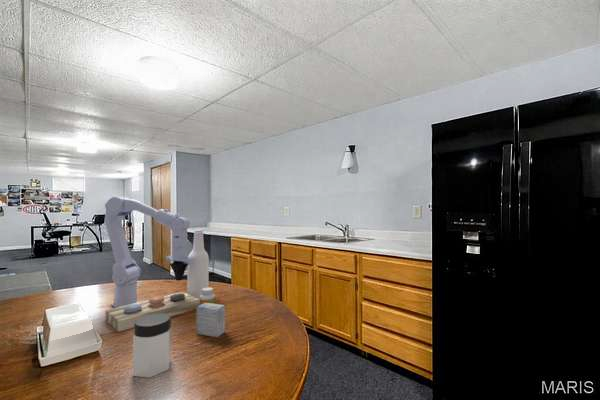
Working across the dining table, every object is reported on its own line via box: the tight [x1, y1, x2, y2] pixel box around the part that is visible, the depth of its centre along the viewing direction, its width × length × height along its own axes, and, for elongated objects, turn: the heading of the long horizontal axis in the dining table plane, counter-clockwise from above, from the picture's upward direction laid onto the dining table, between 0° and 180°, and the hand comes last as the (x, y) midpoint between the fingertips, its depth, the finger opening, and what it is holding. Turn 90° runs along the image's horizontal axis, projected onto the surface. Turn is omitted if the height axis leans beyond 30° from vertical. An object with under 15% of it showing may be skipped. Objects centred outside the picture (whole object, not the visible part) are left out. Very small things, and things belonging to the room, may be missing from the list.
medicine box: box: [196, 303, 226, 338], centre depth 88 cm, size 8×4×9 cm, turn 71°
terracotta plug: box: [148, 295, 165, 308], centre depth 103 cm, size 5×5×5 cm
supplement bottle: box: [200, 286, 216, 305], centre depth 103 cm, size 5×5×10 cm
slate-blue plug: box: [124, 304, 141, 315], centre depth 97 cm, size 5×5×5 cm
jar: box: [132, 314, 172, 379], centre depth 69 cm, size 9×8×12 cm
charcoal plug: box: [170, 293, 185, 302], centre depth 109 cm, size 5×5×5 cm
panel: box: [105, 291, 200, 333], centre depth 104 cm, size 14×28×4 cm, turn 139°
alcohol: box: [186, 228, 210, 299], centre depth 123 cm, size 9×9×30 cm
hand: (179, 280), depth 113 cm, fingers closed
